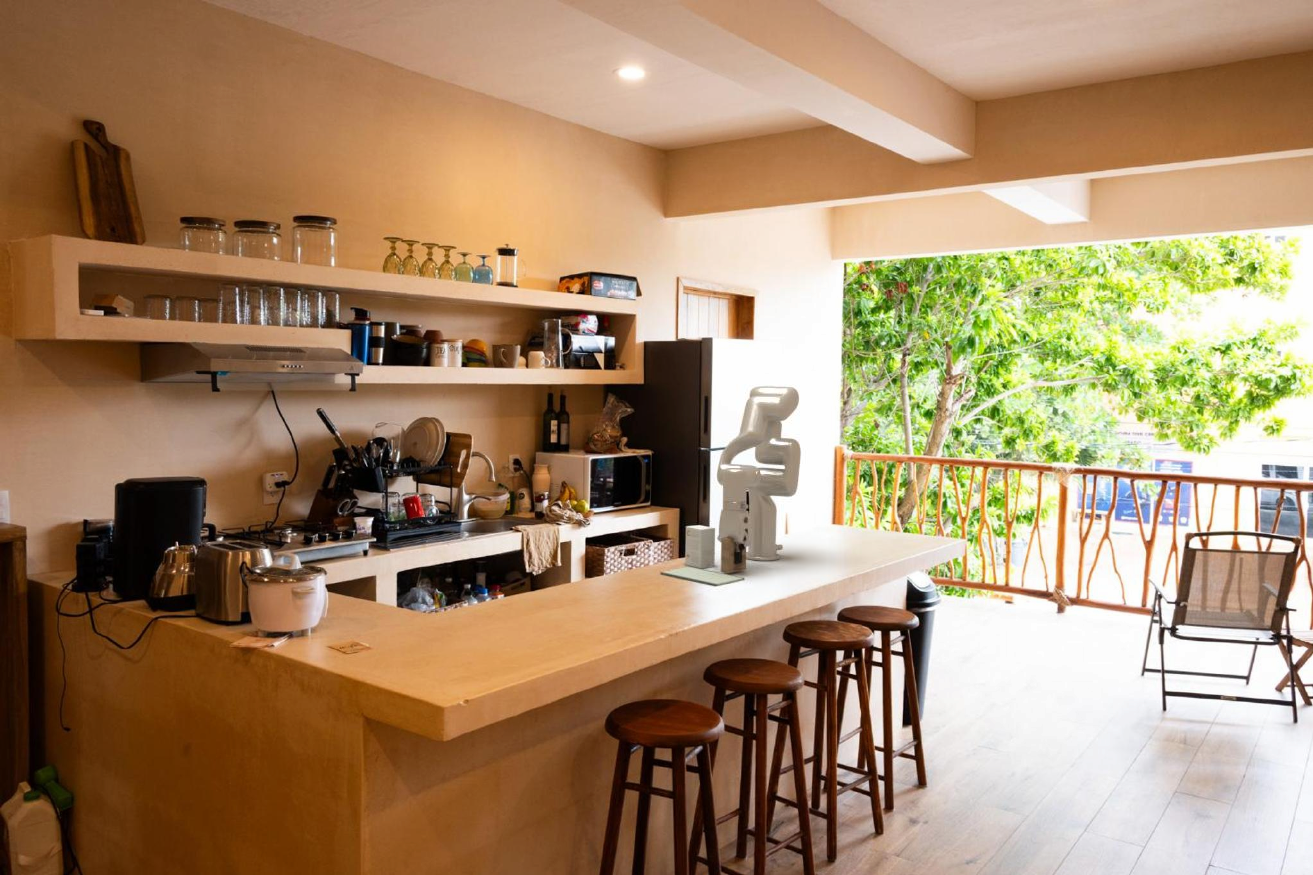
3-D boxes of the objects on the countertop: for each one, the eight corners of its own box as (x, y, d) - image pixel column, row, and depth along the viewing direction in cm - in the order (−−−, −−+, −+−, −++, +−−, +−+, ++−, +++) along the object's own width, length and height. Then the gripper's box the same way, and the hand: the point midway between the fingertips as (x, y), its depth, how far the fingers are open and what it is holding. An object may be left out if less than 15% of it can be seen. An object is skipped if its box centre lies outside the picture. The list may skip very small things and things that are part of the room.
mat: (689, 568, 317) (689, 566, 317) (744, 579, 301) (744, 577, 301) (660, 574, 307) (660, 572, 307) (715, 586, 291) (715, 584, 291)
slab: (738, 567, 316) (739, 534, 315) (745, 568, 314) (746, 535, 313) (720, 571, 309) (721, 538, 308) (728, 573, 307) (728, 539, 306)
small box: (714, 566, 321) (715, 527, 320) (700, 568, 317) (701, 529, 316) (698, 562, 327) (699, 524, 326) (684, 564, 323) (685, 526, 322)
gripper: (761, 508, 307) (760, 564, 308) (722, 502, 318) (721, 556, 320) (747, 510, 301) (746, 568, 303) (707, 504, 313) (706, 560, 314)
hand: (733, 562), depth 311 cm, fingers closed on slab, 3 cm apart
